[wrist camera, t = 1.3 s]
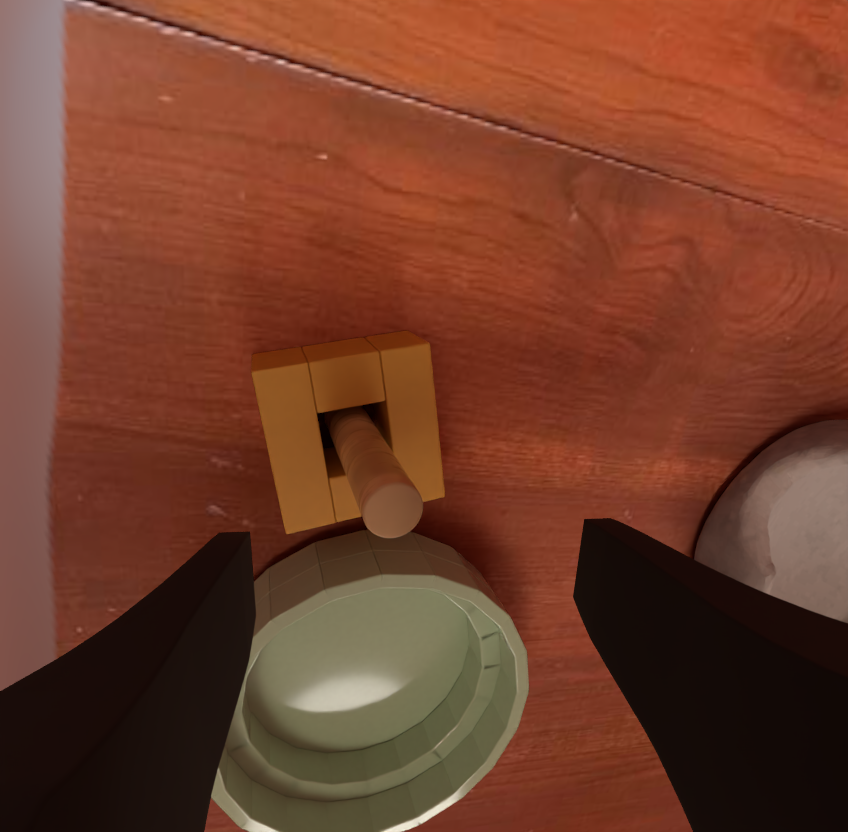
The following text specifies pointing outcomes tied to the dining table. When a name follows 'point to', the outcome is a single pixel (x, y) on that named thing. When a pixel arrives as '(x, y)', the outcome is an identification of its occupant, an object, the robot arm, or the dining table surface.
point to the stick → (374, 474)
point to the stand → (337, 389)
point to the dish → (788, 521)
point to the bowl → (370, 688)
